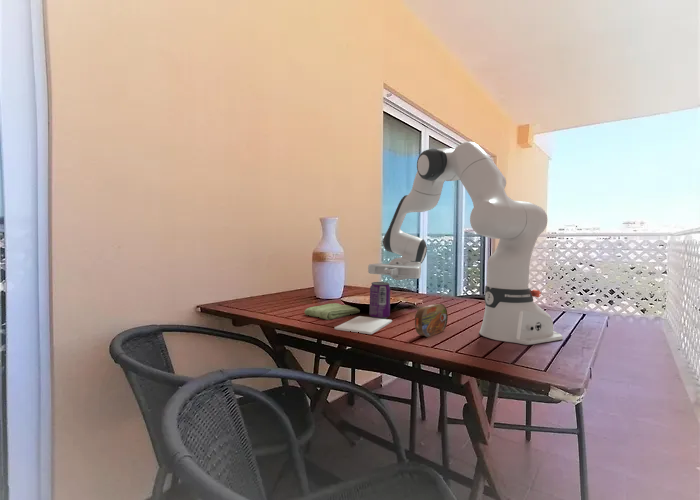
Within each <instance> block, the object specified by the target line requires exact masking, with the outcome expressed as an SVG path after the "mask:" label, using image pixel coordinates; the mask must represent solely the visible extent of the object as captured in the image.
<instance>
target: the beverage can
mask: <svg viewBox="0 0 700 500" xmlns="http://www.w3.org/2000/svg"><path fill="white" fill-rule="evenodd" d="M368 314H369V317H372V318H380V319H388V318H389V317H390V316H391V287H390V283H389V282H386V281H373V282H371V285H370V288H369V313H368Z"/></svg>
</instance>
